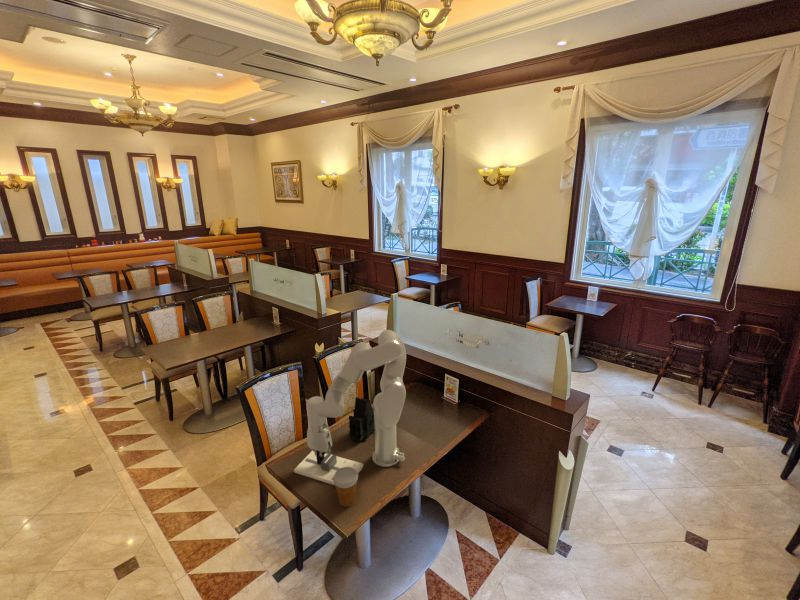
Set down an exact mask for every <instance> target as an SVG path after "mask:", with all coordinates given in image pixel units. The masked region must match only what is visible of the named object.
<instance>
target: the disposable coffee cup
mask: <svg viewBox="0 0 800 600" xmlns="http://www.w3.org/2000/svg"><path fill="white" fill-rule="evenodd" d="M358 479H359V473H357V472H356V470H355V469H354V468H352V467H343V468H340V469H339V470H337V471H336V473H335V475H334V477H333V481H334V483H335V485H334V486H335V490H336V494H337V498H338V503H339V505H340V506H341V507H344V508H347V507H352V506H353V505H354V504H355V502H356V496H357V487H358V486H357V485H358V481H359V480H358Z"/></svg>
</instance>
